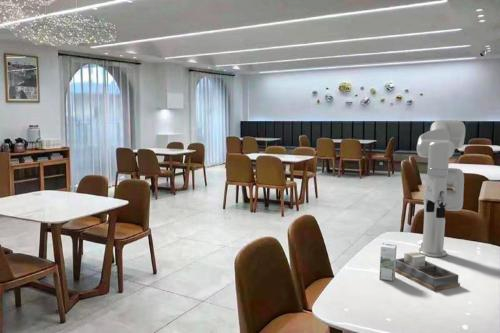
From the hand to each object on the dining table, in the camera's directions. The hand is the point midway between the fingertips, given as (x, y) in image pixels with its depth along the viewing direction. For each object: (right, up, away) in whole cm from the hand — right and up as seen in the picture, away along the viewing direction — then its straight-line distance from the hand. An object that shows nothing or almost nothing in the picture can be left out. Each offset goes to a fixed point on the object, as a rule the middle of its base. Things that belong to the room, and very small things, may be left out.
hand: (434, 214), depth 178 cm
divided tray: (-1, -27, +8) cm, 28 cm away
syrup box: (-17, -28, +7) cm, 33 cm away
